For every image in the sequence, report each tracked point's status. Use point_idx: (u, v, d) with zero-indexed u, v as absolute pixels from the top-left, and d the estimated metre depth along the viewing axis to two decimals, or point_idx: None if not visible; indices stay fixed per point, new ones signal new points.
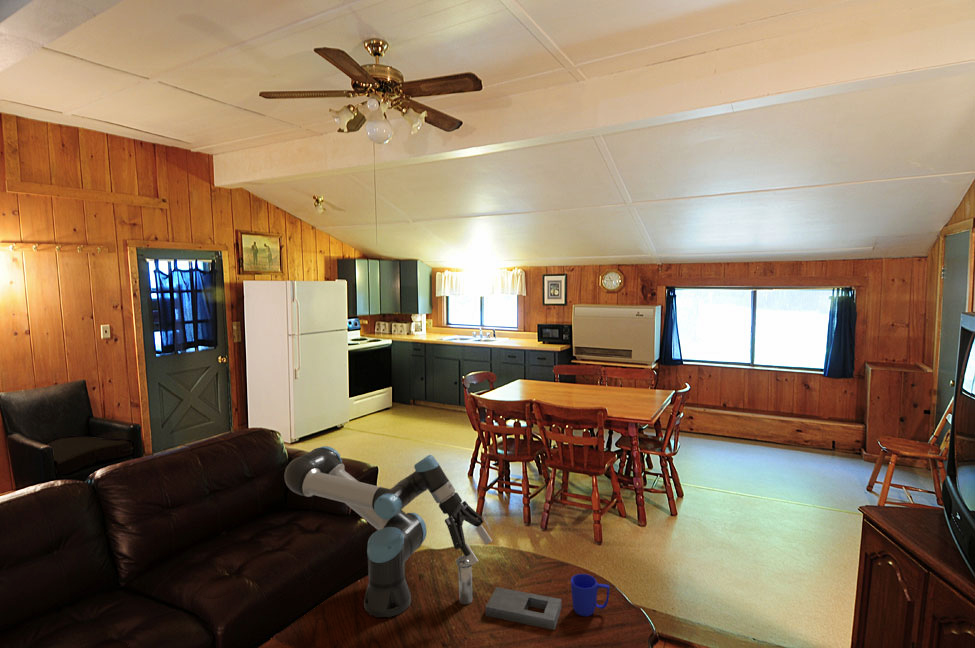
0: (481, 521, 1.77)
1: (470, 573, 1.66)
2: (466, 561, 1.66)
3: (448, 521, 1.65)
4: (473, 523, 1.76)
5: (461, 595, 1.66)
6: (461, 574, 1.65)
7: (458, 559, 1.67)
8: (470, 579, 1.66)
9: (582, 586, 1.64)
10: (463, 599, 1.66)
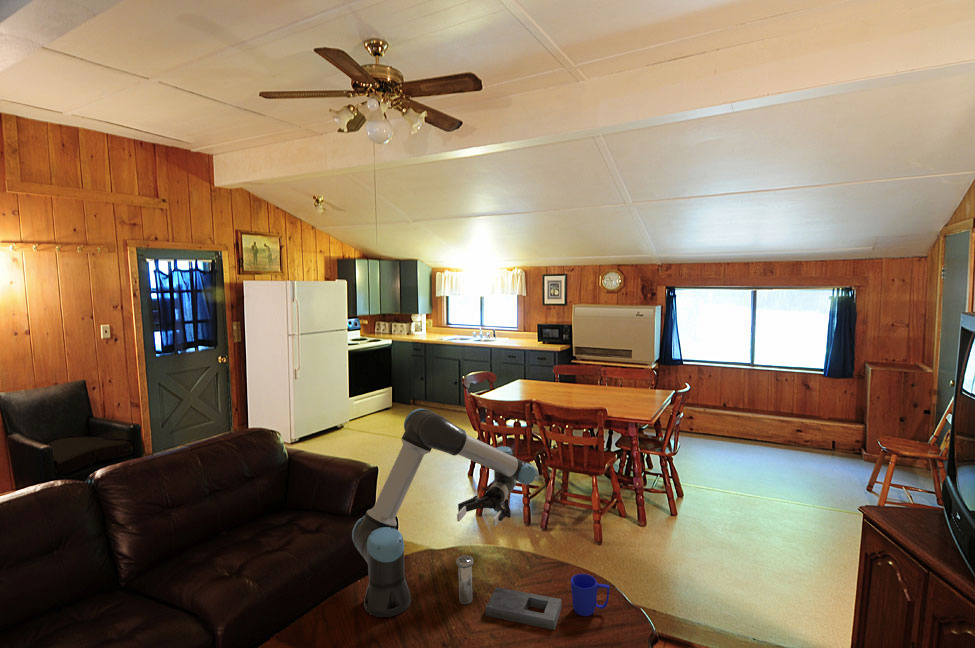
0: None
1: (470, 573, 1.66)
2: (466, 561, 1.66)
3: (508, 503, 1.89)
4: (469, 506, 1.86)
5: (461, 595, 1.66)
6: (461, 574, 1.65)
7: (458, 559, 1.67)
8: (470, 579, 1.66)
9: (582, 586, 1.64)
10: (463, 599, 1.66)
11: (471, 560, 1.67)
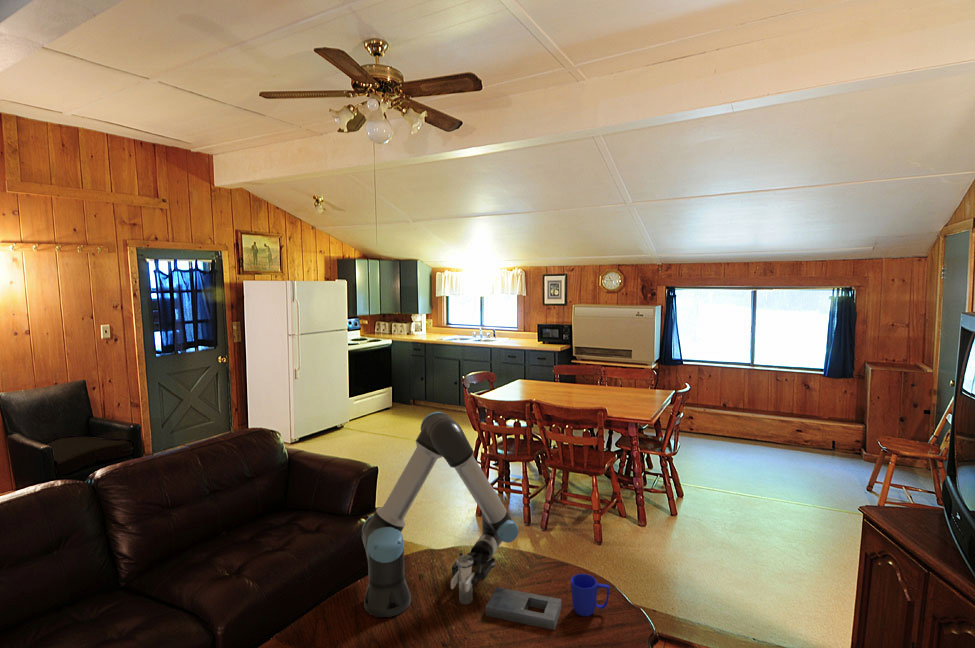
0: None
1: (470, 573, 1.66)
2: (466, 561, 1.66)
3: (494, 563, 1.75)
4: None
5: (461, 595, 1.66)
6: (461, 574, 1.65)
7: (458, 559, 1.67)
8: None
9: (582, 586, 1.64)
10: (463, 599, 1.66)
11: (471, 560, 1.66)
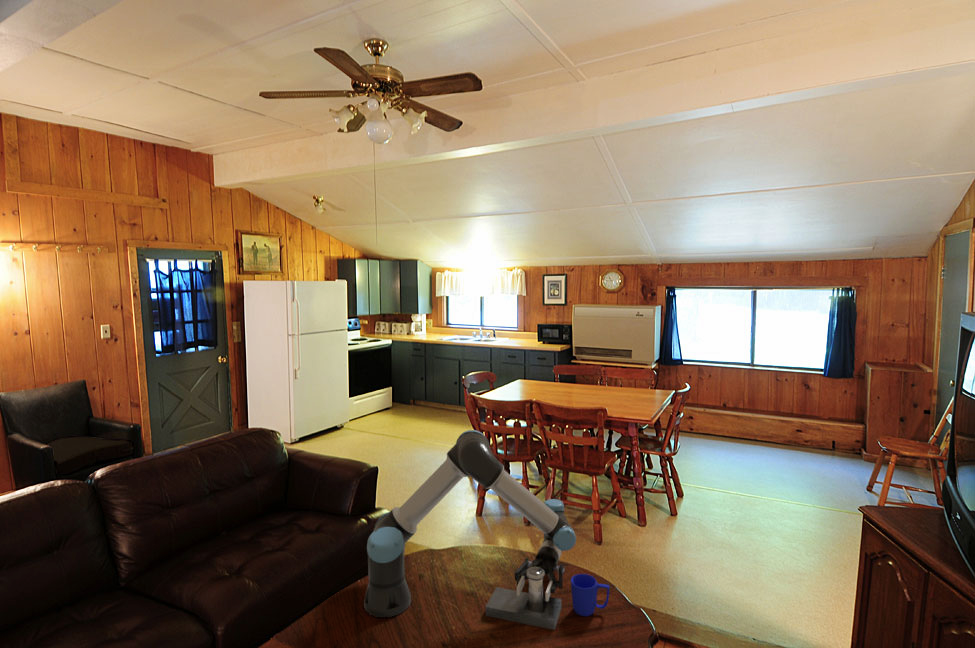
0: None
1: (541, 586, 1.58)
2: (537, 573, 1.58)
3: (563, 569, 1.68)
4: (526, 574, 1.65)
5: (532, 609, 1.58)
6: (532, 587, 1.58)
7: (528, 571, 1.59)
8: (541, 592, 1.58)
9: (582, 586, 1.64)
10: None
11: (542, 572, 1.59)
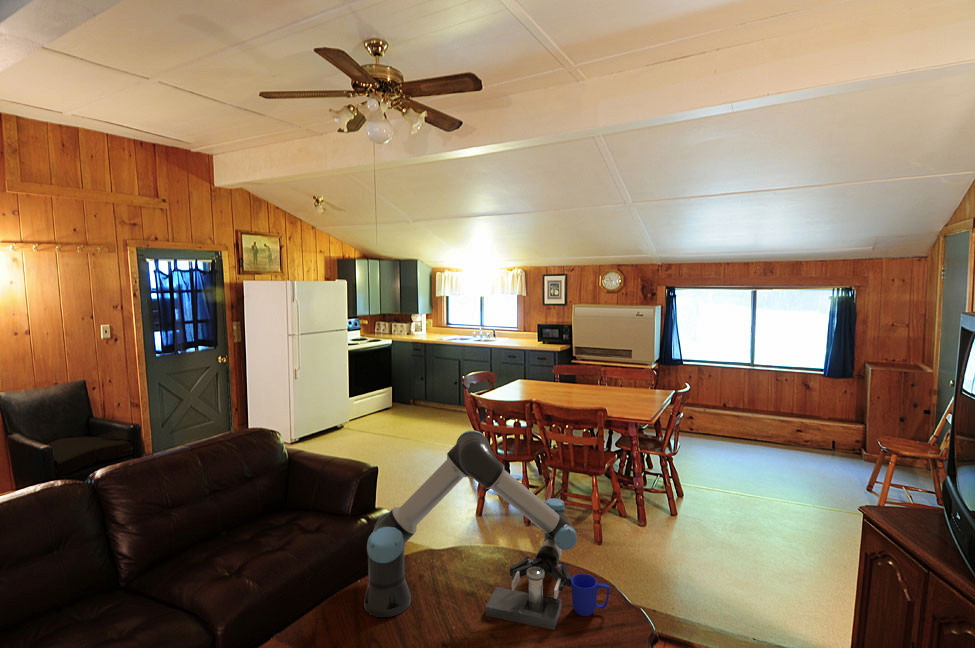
0: None
1: (541, 586, 1.58)
2: (537, 573, 1.58)
3: None
4: (522, 571, 1.67)
5: (532, 609, 1.58)
6: (532, 587, 1.58)
7: (528, 571, 1.59)
8: (541, 592, 1.58)
9: (582, 586, 1.64)
10: None
11: (542, 572, 1.59)
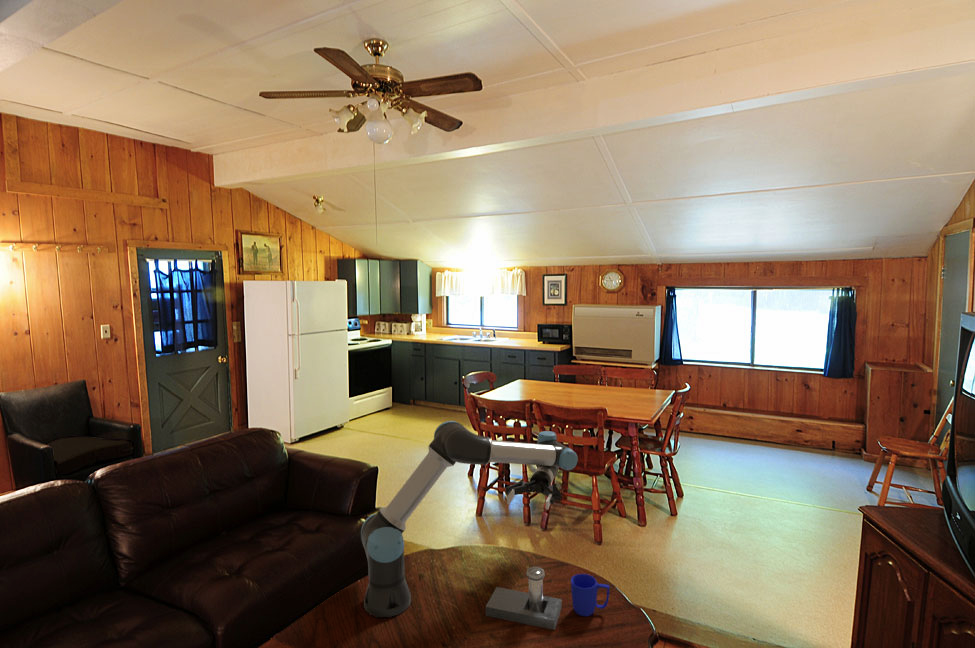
0: None
1: (541, 586, 1.58)
2: (537, 573, 1.58)
3: None
4: (517, 490, 1.82)
5: (532, 609, 1.58)
6: (532, 587, 1.58)
7: (528, 571, 1.59)
8: (541, 592, 1.58)
9: (582, 586, 1.64)
10: None
11: (542, 572, 1.59)
